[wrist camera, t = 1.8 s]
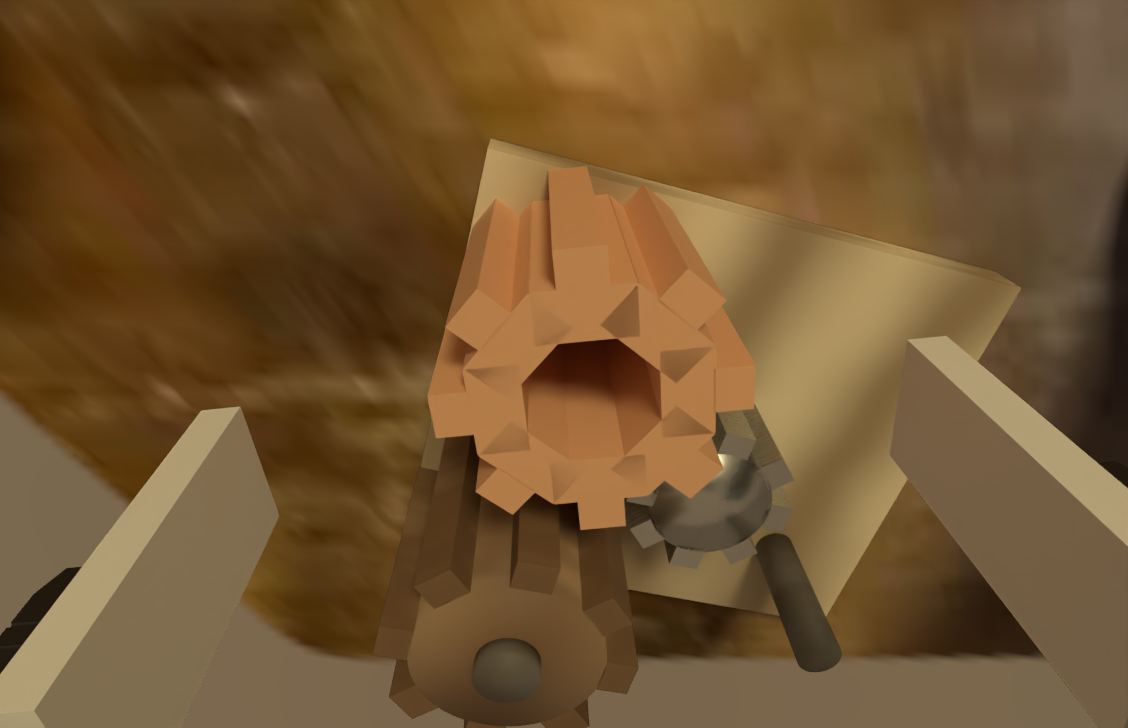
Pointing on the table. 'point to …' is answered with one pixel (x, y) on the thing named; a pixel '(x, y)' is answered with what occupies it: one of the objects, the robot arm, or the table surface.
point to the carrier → (794, 381)
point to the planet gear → (587, 353)
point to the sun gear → (720, 498)
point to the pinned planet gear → (503, 605)
